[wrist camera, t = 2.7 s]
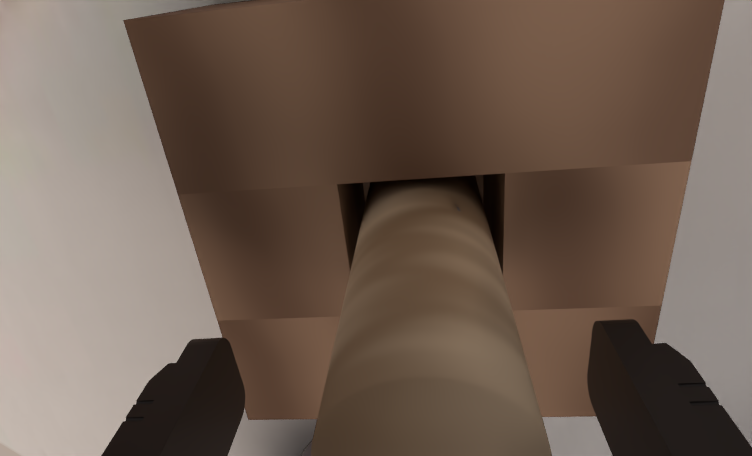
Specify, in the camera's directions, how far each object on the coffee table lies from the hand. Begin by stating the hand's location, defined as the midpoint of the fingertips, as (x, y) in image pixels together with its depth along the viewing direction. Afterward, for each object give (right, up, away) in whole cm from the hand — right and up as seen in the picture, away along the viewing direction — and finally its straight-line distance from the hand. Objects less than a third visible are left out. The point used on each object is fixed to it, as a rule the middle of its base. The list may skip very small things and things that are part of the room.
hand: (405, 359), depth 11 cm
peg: (+1, +4, +8) cm, 9 cm away
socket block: (+1, +5, +9) cm, 10 cm away
